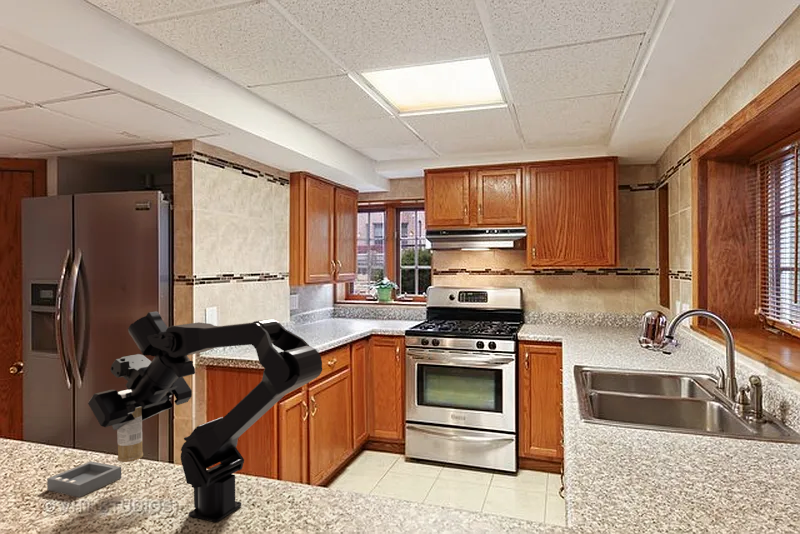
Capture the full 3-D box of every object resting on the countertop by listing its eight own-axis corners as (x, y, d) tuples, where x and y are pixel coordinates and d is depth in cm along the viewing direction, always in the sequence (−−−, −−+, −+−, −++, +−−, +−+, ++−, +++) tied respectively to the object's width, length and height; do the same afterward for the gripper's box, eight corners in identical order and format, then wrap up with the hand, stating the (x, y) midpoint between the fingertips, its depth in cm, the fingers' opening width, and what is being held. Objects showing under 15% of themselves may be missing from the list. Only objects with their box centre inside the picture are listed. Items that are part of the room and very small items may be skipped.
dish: (121, 478, 101) (121, 465, 101) (79, 497, 93) (79, 484, 93) (90, 471, 104) (90, 460, 104) (47, 490, 96) (47, 477, 96)
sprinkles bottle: (140, 452, 100) (139, 387, 100) (145, 459, 97) (144, 391, 97) (114, 458, 97) (113, 390, 97) (119, 465, 94) (118, 395, 94)
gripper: (181, 335, 104) (147, 383, 108) (93, 349, 87) (57, 405, 92) (209, 375, 100) (172, 423, 105) (123, 398, 83) (84, 453, 88)
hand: (125, 424), depth 98 cm, fingers closed on sprinkles bottle, 4 cm apart
